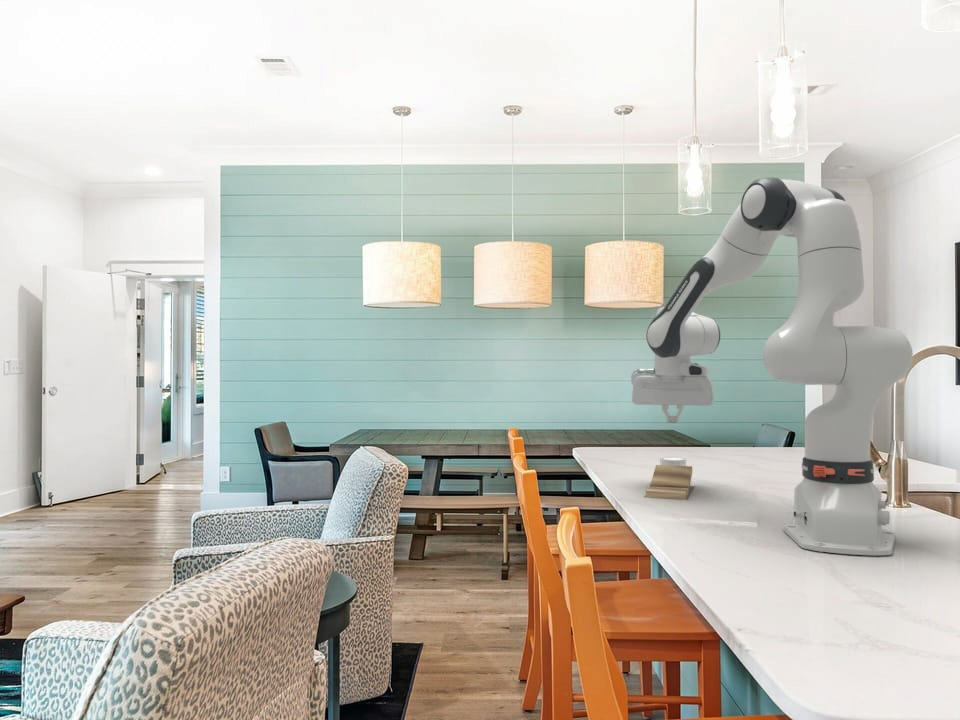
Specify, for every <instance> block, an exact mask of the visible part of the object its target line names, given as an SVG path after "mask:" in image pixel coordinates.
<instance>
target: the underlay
mask: <svg viewBox="0 0 960 720" xmlns="http://www.w3.org/2000/svg"><path fill="white" fill-rule="evenodd" d="M695 487H696V486H695V485H690V488H689V494H688V496H687V498H686V500H685V499H680V500H682V501H688V500H689V499H690V496H691V495H692V493H693V491H694V489H695ZM643 498H648V499H651V498H650V497H646V494H645V495H644V496H643ZM663 499H665V500H666V499H667V498H663ZM667 500H668V499H667Z"/></svg>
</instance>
